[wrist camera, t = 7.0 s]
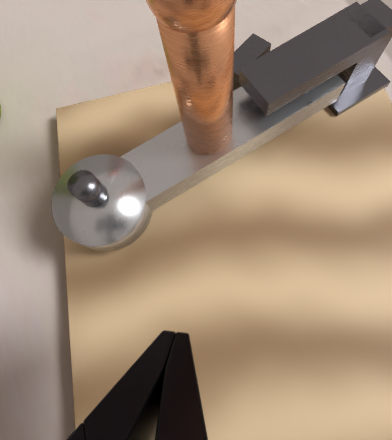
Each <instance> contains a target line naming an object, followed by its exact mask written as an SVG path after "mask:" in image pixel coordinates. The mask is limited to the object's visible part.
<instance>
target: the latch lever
mask: <svg viewBox="0 0 392 440" xmlns="http://www.w3.org/2000/svg"><path fill="white" fill-rule="evenodd" d="M236 1H237V0H146V2H147V4H148V6H149V8H150V9H151V11H152V12H153V14H154V15H155V17H156V19H157V23H158V27H159V31H160V35H161V39H162V43H163V47H164V52H165V56H166V60H167V64H168V68H169V72H170V76H171V80H172V84H173V88H174V92H175V96H176V100H177V104H178V109H179V113H180V117H181V122H179V123H178V124H176V125H174V126H172V127H171V128H169V129H167V130H165V131H164V132H162V133H160V134H159V135H157V136H155V137H153V138H152V139H150V140H148V141H146V142H145V143H143V144H141V145H140V146H138V147H136V148H134V149H133V150H131V151H129V152H128V153H126V154H124V155H122V156H121V157H119V156H115V155H109V154H100V155H94V156H90V157H87V158H84V159H82V160H80V161H78V162H77V163H75V164H74V165H72V166H71V167H70V168H69V169H68V170H67V171H66V172H65V173H64V174H63V175H62V177H61V178H60V179H59V181H58V183H57V185H56V187H55V189H54V192H53V196H52V203H51V209H52V215H53V219H54V222H55V224H56V226H57V227H58V229H59V230H60V231H61V232H62V233H63V234H64V235H65V236H66V237H67V238H69V239H70V240H72V241H74V242H76V243H79V244H81V245H83V246H85V247H87V248H90V249H92V250H95V251H101V252H109V251H116V250H119V249H122V248H125V247H127V246H129V245H130V244H132V243H133V242H135V241H136V240H137V239H138V238H139V237H140V236H141V235H142V234H143V233H144V231H145V230H146V228H147V226H148V224H149V222H150V220H151V217H152V213H153V210H155V209H157V208H158V207H160V206H162V205H163V204H165V203H167V202H168V201H170V200H172V199H173V198H175V197H177V196H178V195H180V194H182V193H183V192H185V191H187V190H189V189H190V188H192V187H194V186H195V185H197V184H199V183H200V182H202V181H204V180H205V179H207V178H209V177H210V176H212V175H214V174H215V173H217V172H219V171H220V170H222V169H224V168H225V167H227V166H229V165H230V164H232V163H234V162H235V161H237V160H239V159H240V158H242V157H244V156H245V155H247V154H249V153H250V152H252V151H254V150H255V149H257V148H259V147H260V146H262V145H264V144H265V143H267V142H269V141H270V140H272V139H274V138H275V137H277V136H279V135H280V134H282V133H284V132H285V131H287V130H289V129H290V128H292V127H294V126H295V125H297V124H299V123H300V122H302V121H304V120H305V119H307V118H309V117H311V116H312V115H314V114H316V113H317V112H319V111H321V110H322V109H324V108H326V107H327V106H329V105H331V104H332V103H334V102H336V101H337V99H338V97H339V95H340V93H341V91H342V89H343V87H344V85H345V82H344V81H343V80H342V79H341V78H340V77H339V76H338V75H335V76H334V77H332V78H330V79H328V80H327V81H325V82H323V83H322V84H320V85H318V86H317V87H315V88H313V89H312V90H310V91H308V92H306V93H305V94H303V95H301V96H300V97H298V98H296V99H295V100H293V101H291V102H290V103H288V104H286V105H284V106H283V107H281V108H279V109H278V110H276V111H274V112H273V113H271V114H269V115H268V116H266V115H265V114H264V113H263V112H262V110H261V109H260V108H259V107H258V105H257V104H256V103H255V102H254V101H253V99H252V98H251V97H250V96H249V95H248V93H247V92H246V91H245V90H244V89H243V87H242V86H241V87H240V88H238V89H236V90H234V91H233V75H234V27H235V4H236ZM80 170H88V171H90V172H91V173H92V174H93V175H94V176H95V177H96V178H97V179H98V180H99V181H100V182H101V183H102V184H103V185H104V186H105V187H106V189H107V192H108V194H107V198H106V200H105V202H104V203H103V204H102V205H100V206H98V207H88V206H86V205H85V204H84V203H82V202H81V201H80V200H78V199H77V198H76V197H74V196H73V195H72V194H70V192H69V191H68V188H67V184H68V180H69V178H70V177H71V176H72V175H73V174H74V173H75V172H77V171H80Z"/></svg>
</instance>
